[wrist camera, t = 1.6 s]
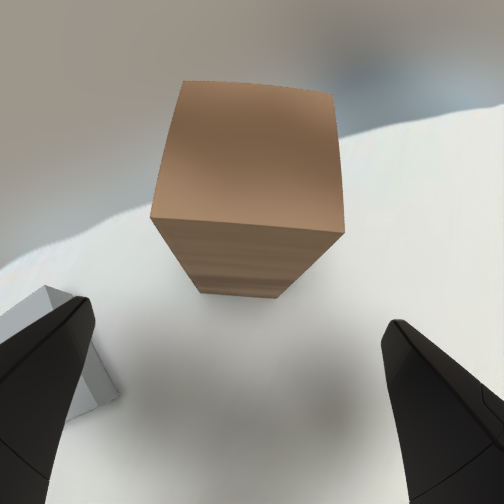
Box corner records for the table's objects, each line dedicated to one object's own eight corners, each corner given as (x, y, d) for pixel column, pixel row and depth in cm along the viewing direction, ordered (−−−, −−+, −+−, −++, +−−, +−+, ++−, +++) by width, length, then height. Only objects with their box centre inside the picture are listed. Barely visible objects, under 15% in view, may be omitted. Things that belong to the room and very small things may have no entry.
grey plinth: (121, 395, 18) (98, 406, 14) (46, 430, 16) (18, 441, 13) (73, 294, 20) (44, 284, 16) (6, 338, 18) (-25, 335, 14)
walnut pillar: (276, 298, 20) (344, 232, 8) (200, 292, 20) (149, 217, 8) (279, 227, 22) (332, 94, 9) (207, 221, 21) (183, 81, 9)
